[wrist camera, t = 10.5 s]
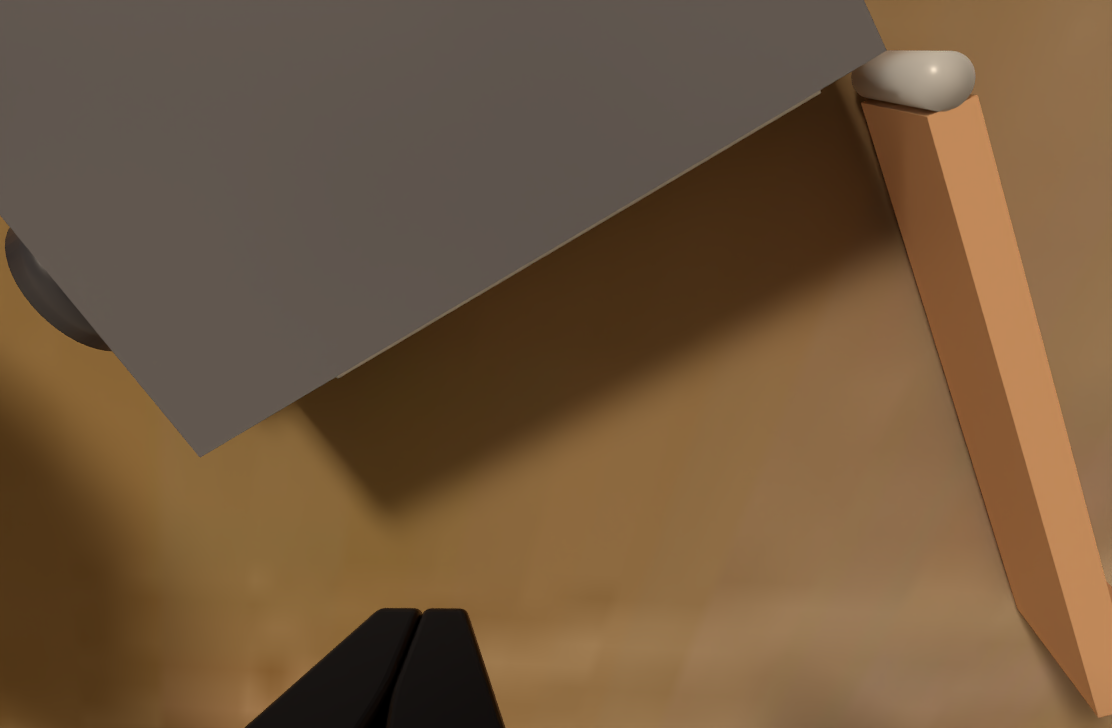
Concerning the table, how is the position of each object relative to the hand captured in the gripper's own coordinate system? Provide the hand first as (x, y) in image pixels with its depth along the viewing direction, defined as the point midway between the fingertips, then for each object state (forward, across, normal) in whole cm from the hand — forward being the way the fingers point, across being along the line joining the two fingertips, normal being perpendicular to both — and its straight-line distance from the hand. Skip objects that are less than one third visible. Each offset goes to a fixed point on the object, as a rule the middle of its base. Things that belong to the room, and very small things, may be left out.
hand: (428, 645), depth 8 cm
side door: (+11, -10, +1) cm, 15 cm away
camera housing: (+12, +2, -5) cm, 13 cm away
